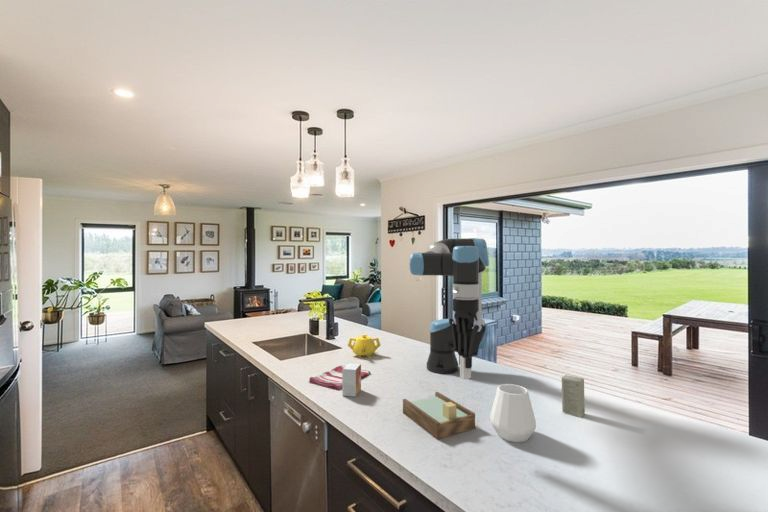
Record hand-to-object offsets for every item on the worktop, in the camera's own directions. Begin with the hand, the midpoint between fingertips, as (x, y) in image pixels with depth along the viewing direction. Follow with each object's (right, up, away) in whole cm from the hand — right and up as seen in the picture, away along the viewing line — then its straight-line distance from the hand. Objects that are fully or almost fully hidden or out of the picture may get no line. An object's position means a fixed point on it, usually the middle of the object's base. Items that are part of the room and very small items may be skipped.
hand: (465, 377), depth 107 cm
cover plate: (-6, -15, +13) cm, 21 cm away
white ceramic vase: (+15, -19, +3) cm, 24 cm away
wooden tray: (-6, -18, +13) cm, 23 cm away
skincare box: (+41, -19, +18) cm, 49 cm away
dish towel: (-43, -19, +53) cm, 71 cm away
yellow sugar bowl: (-35, -18, +89) cm, 97 cm away
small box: (-37, -18, +36) cm, 55 cm away
